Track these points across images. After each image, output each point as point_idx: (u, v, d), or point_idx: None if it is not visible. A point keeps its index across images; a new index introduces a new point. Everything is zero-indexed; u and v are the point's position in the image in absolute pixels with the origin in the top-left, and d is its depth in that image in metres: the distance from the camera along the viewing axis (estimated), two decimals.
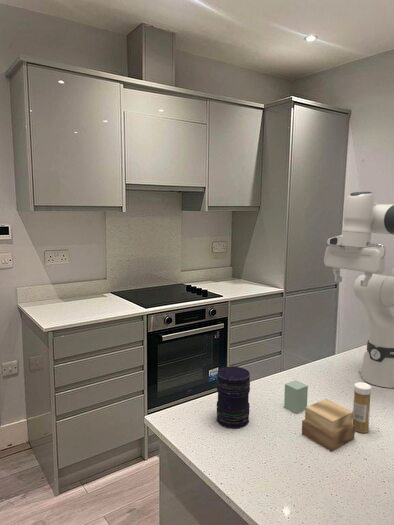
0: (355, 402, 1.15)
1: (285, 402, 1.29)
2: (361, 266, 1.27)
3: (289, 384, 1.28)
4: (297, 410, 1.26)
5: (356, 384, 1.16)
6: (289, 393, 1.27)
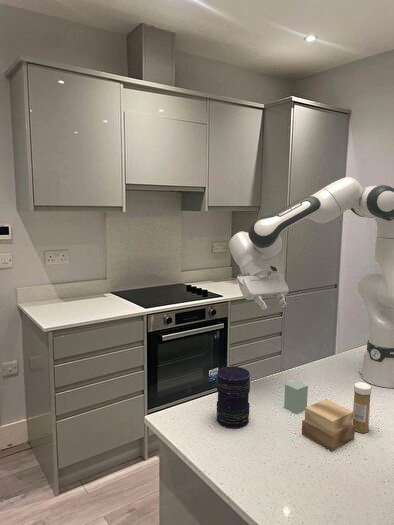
0: (355, 402, 1.15)
1: (285, 402, 1.29)
2: None
3: (289, 384, 1.28)
4: (297, 410, 1.26)
5: (356, 384, 1.16)
6: (289, 393, 1.27)
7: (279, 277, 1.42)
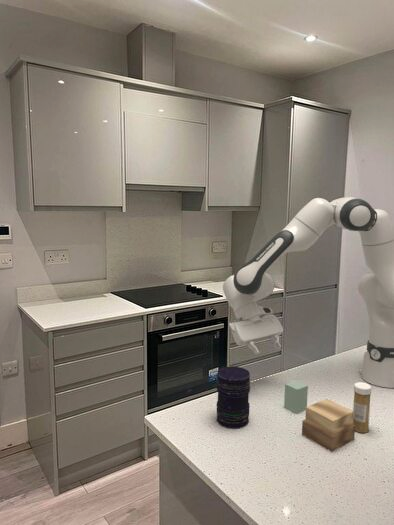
0: (355, 402, 1.15)
1: (285, 402, 1.29)
2: None
3: (289, 384, 1.28)
4: (297, 410, 1.26)
5: (356, 384, 1.16)
6: (289, 393, 1.27)
7: (273, 318, 1.45)
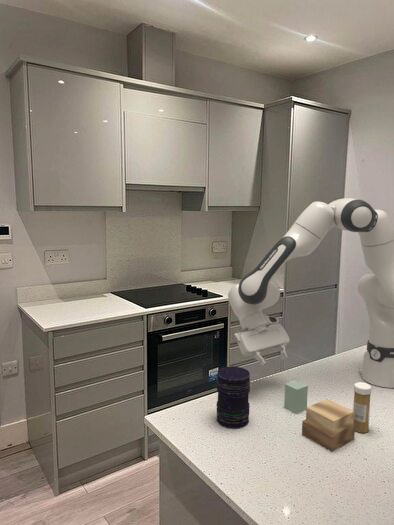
0: (355, 402, 1.15)
1: (285, 402, 1.29)
2: None
3: (289, 384, 1.28)
4: (297, 410, 1.26)
5: (356, 384, 1.16)
6: (289, 393, 1.27)
7: (279, 327, 1.43)
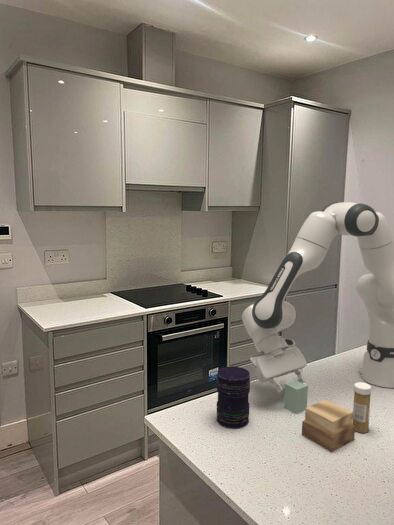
0: (355, 402, 1.15)
1: (285, 402, 1.29)
2: None
3: (289, 384, 1.28)
4: (297, 410, 1.26)
5: (356, 384, 1.16)
6: (289, 393, 1.27)
7: (296, 350, 1.37)
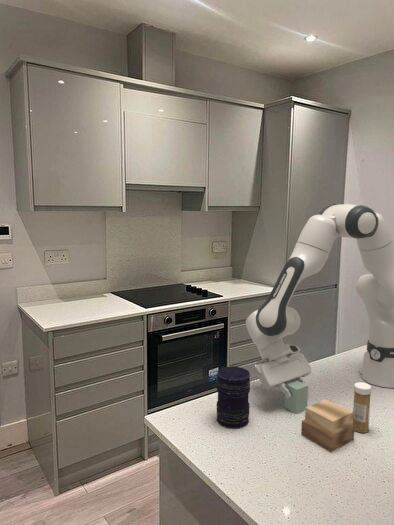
0: (355, 402, 1.15)
1: (285, 402, 1.29)
2: None
3: (289, 384, 1.28)
4: (297, 410, 1.26)
5: (356, 384, 1.16)
6: None
7: (300, 357, 1.36)
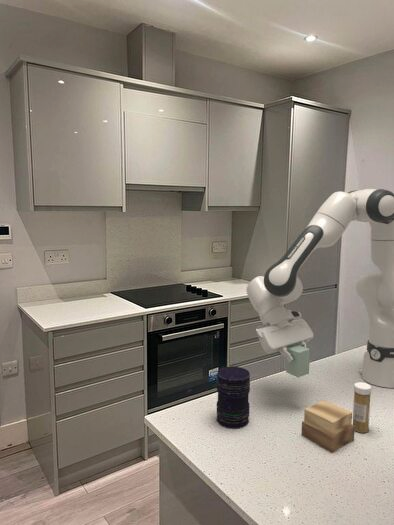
0: (355, 402, 1.15)
1: (287, 366, 1.27)
2: None
3: (291, 348, 1.27)
4: (299, 374, 1.24)
5: (356, 384, 1.16)
6: None
7: (302, 322, 1.34)
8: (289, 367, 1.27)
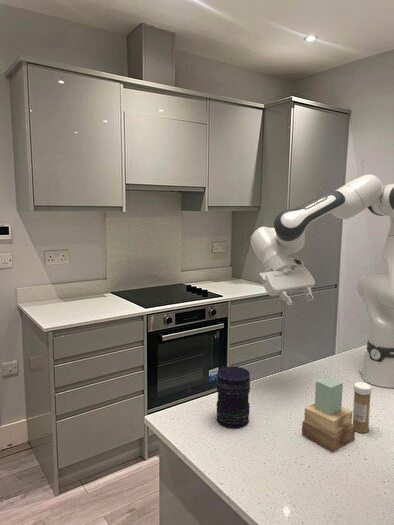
0: (355, 402, 1.15)
1: (316, 402, 1.12)
2: None
3: (321, 381, 1.11)
4: (330, 411, 1.09)
5: (356, 384, 1.16)
6: (321, 392, 1.10)
7: (304, 270, 1.38)
8: (318, 403, 1.11)
